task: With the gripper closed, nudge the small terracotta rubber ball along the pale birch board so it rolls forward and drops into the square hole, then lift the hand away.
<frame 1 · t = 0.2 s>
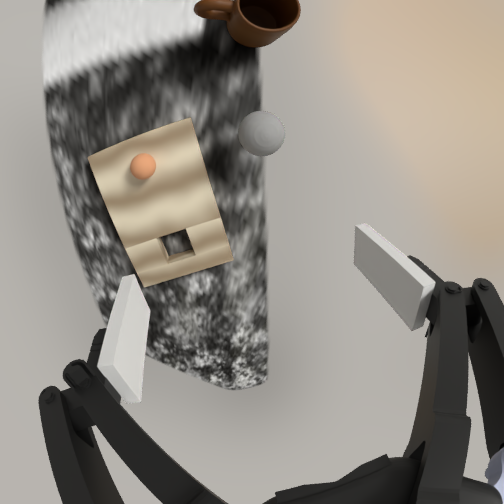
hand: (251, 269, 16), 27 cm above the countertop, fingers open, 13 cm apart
ball: (143, 166, 34), point 4 cm above the countertop, touching deck
deck: (163, 204, 41), on the countertop
light bulb: (250, 129, 38), on the countertop
mug: (237, 25, 30), on the countertop
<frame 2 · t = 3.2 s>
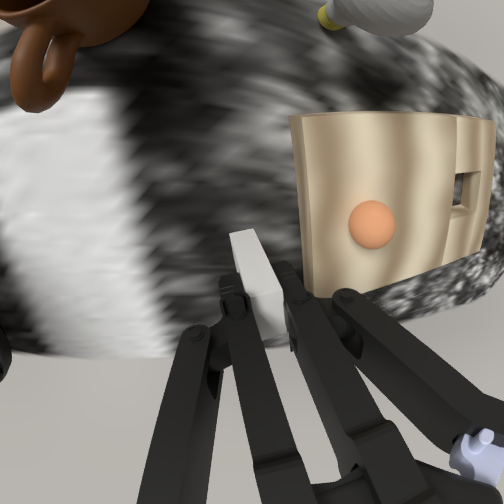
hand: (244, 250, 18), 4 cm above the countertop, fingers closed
ball: (372, 224, 19), point 4 cm above the countertop, touching deck
deck: (409, 193, 23), on the countertop
light bulb: (325, 20, 15), on the countertop
mug: (96, 30, 13), on the countertop
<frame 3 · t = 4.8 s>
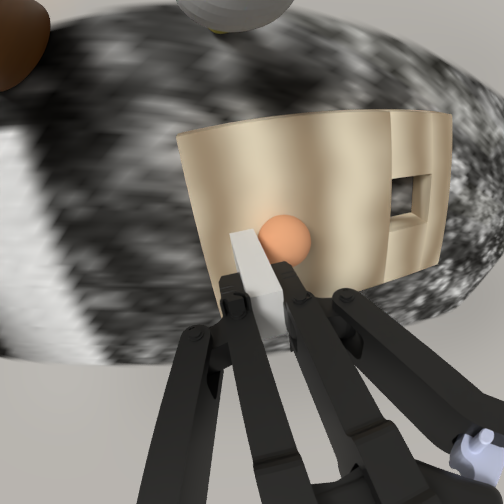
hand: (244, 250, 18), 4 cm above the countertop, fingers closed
ball: (284, 241, 18), point 4 cm above the countertop, tilted 37°, touching deck
deck: (336, 203, 23), on the countertop
light bulb: (219, 23, 15), on the countertop
mug: (12, 72, 12), on the countertop
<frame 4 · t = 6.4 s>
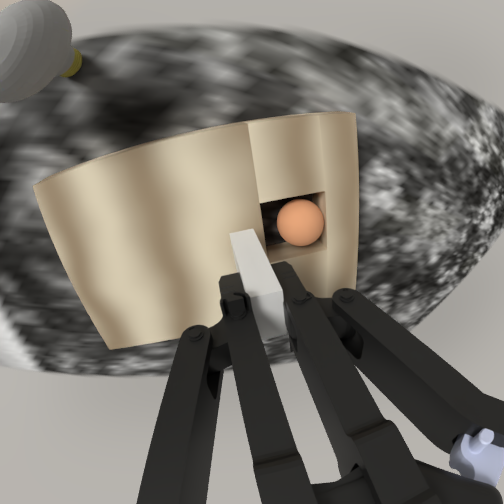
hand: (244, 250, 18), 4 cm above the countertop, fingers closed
ball: (300, 222, 21), point 2 cm above the countertop, tilted 148°
deck: (208, 231, 21), on the countertop
light bulb: (73, 63, 14), on the countertop
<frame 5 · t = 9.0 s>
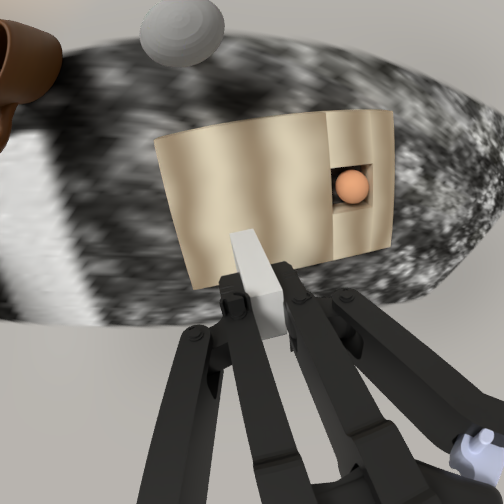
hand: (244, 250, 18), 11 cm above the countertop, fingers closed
ball: (352, 186, 27), point 2 cm above the countertop, tilted 139°
deck: (287, 190, 28), on the countertop
light bulb: (188, 51, 20), on the countertop
mug: (33, 88, 18), on the countertop
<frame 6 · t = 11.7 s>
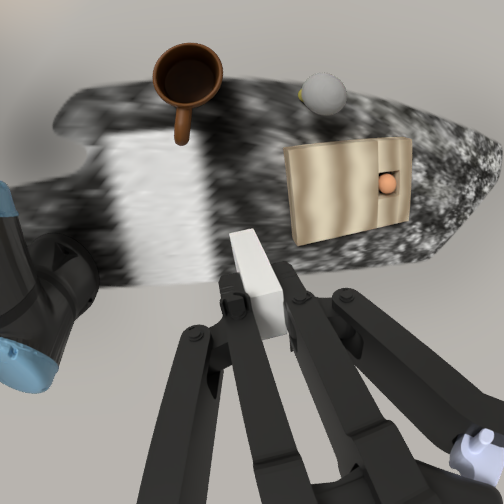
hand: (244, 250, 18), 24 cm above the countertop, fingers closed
ball: (386, 183, 43), point 2 cm above the countertop, tilted 129°
deck: (351, 184, 44), on the countertop
light bulb: (302, 95, 36), on the countertop
mug: (187, 97, 34), on the countertop
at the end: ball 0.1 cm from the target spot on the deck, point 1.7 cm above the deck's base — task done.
